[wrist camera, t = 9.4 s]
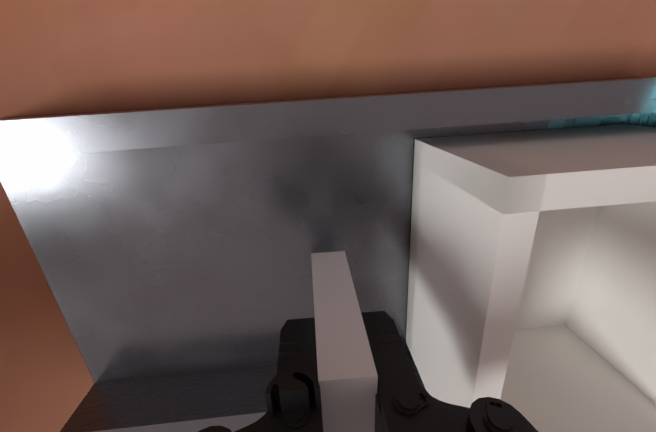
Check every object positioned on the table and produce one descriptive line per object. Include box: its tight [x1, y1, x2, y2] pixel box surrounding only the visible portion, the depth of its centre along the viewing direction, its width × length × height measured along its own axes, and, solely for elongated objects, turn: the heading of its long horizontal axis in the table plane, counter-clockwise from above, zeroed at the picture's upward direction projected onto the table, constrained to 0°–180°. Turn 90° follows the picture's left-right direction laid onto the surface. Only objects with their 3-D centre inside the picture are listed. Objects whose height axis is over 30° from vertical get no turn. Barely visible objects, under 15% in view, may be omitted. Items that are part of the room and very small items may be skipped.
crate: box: [406, 124, 656, 432], centre depth 13 cm, size 10×12×7 cm
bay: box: [0, 77, 656, 432], centre depth 15 cm, size 30×16×6 cm, turn 93°
